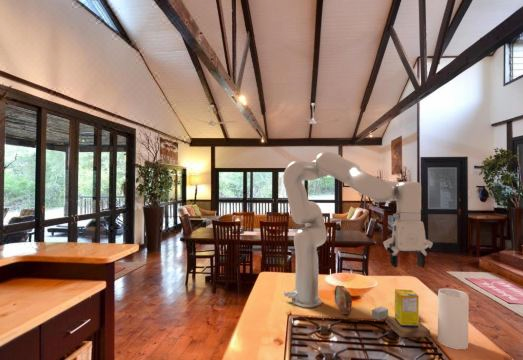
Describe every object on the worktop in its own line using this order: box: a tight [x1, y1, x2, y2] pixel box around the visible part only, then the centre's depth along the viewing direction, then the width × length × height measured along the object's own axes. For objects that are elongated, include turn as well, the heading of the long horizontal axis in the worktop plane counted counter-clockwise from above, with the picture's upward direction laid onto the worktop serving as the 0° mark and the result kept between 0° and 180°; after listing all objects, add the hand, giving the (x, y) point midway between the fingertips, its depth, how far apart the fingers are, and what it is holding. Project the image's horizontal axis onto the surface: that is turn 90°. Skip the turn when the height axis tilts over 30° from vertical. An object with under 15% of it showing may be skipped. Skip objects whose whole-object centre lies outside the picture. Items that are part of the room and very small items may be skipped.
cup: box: [437, 287, 470, 350], centre depth 97 cm, size 8×8×16 cm
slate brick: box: [371, 306, 389, 321], centre depth 115 cm, size 6×3×3 cm, turn 126°
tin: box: [334, 285, 353, 315], centre depth 121 cm, size 15×3×8 cm, turn 2°
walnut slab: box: [385, 316, 431, 338], centre depth 105 cm, size 10×10×2 cm
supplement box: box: [394, 288, 420, 327], centre depth 106 cm, size 6×6×11 cm
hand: (407, 266), depth 106 cm, fingers open, 9 cm apart
